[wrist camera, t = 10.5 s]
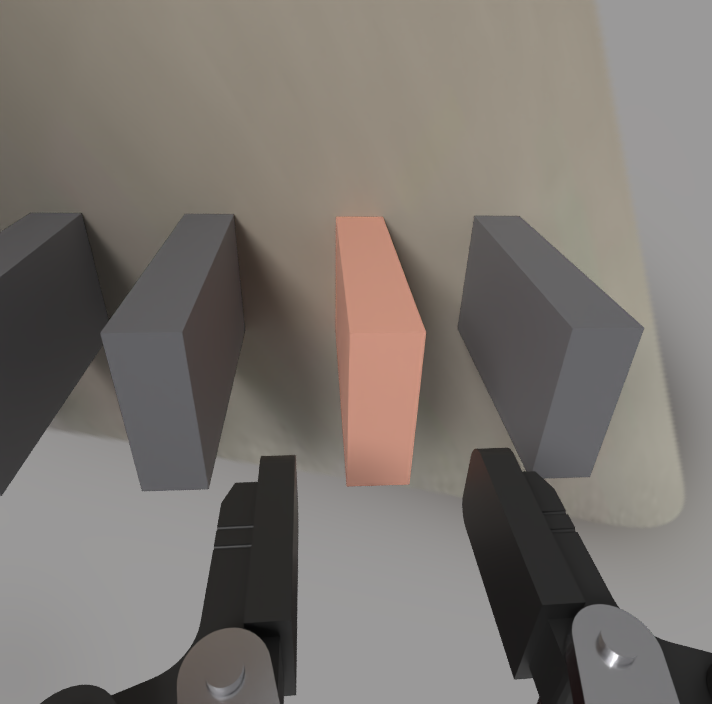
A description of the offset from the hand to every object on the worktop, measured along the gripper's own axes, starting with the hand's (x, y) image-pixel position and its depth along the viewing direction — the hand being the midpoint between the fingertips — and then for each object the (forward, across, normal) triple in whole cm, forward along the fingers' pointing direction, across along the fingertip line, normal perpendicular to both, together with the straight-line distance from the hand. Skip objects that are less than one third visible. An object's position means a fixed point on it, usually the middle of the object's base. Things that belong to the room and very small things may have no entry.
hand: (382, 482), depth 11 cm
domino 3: (+12, 0, 0) cm, 12 cm away
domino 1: (+12, +11, 0) cm, 16 cm away
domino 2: (+12, +5, 0) cm, 13 cm away
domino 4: (+11, -6, 0) cm, 13 cm away
